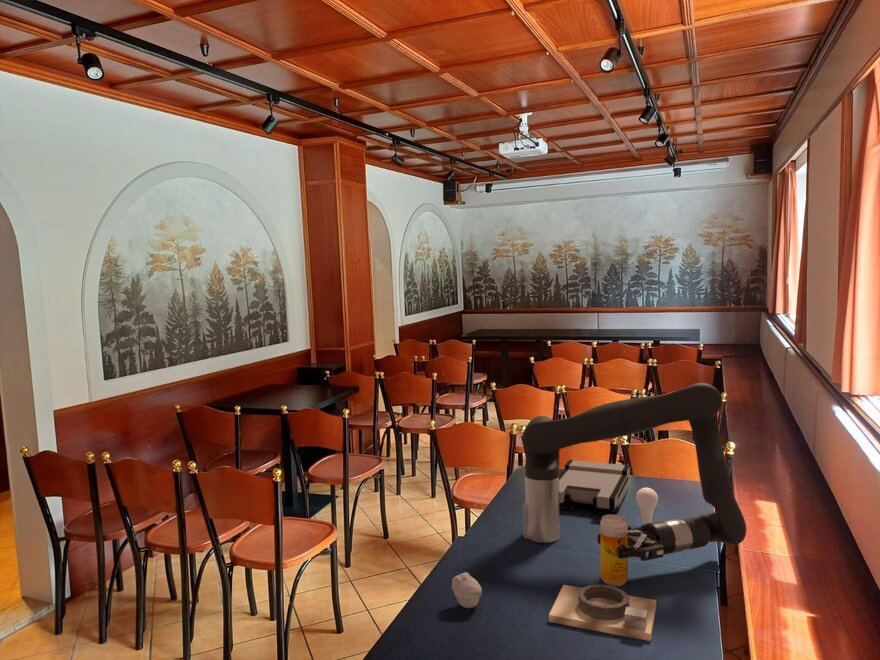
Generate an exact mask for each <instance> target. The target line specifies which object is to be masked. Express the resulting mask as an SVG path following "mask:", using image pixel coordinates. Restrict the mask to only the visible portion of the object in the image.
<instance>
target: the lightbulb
mask: <svg viewBox="0 0 880 660" xmlns="http://www.w3.org/2000/svg"><path fill="white" fill-rule="evenodd" d="M635 502H636V504H637V505H638V507H639V510H640V513H641V514H640V515H641V519H642V520H641V522H642V524H643V525H646V524H647V523H653V522H652V521H653V520H652V519H653V516H654V515H653V514H654V510H655V509H656V507H657V505H658V502H659V496H658V494H657V492H656V491H655V490H654V489H653V488H650V487H642V488H640V489H639V490H638V491H637V492H636V494H635Z"/></svg>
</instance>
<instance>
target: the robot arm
mask: <svg viewBox="0 0 880 660" xmlns="http://www.w3.org/2000/svg"><path fill="white" fill-rule="evenodd" d="M722 405H723V397H722V394H721V393H720V390H719V389H717V388H716V387H715V386H713V385H711V384H709V383H706V382H705V383H704V382H696V383H692V384H690V385H688V386H686V387H683V388H681V389H678V390H674V391H670V392H668V393H663V394H659V395H653V396H643V397H642V396H641V397H633V398H627V399H621V400H617V401H611V402H608V403H604V404H601V405H597V406H595V407H592V408H589V409H588V410H586V411H584V412H581V413H579V414H576V415H574V416H570V417H565V418H562V419H552V418H551V417H548V416H544V415H539V416H536V417H533V418H532V419H530V420H529V422H528V423H527V425H526V426H525V428H524V430H523V433H522V444H523V445H524V447H525V449H526V450H525V451H526V453H525V454H526V455H525V465H524V485H525V490H524V492H525V502H524V503H523V505H522V506H523V510H522V511H523V538H524V539H527V540H529V541H532V542H535V543H545V544H547V543H553V542H556V541H559V539H560V537H561V536H560V535H561V534H560V532H561V530H560V529H561V528H560V525H561V523H560V508H559V475H560V473H559V471H560V450H562V449H565V448H568V447H572V446H575V445H580V444H584V443H585V444H587V443H594V442H599V441H605V440H611V439H616V438H622V437H626V436H631V435H635V434H638V433H642V432H646V431H649V430H651V429H654V428H657V427H659V426H663V425H667V424H672V423H677V422H678V423H679V422H687V421H688V423H689V425H690V429H691V432H692V435H693V436H692V437H693V441H694V444H695V445H694V446H695V452H696V460H697V467H698V469H697V470H698V476H699V480H700V486H701V490H702V491H701V492H702V497H703V500H704V502H706V503H707V504H710V505H711V506H712V507H713V508H714V510H715V512H705V513H702V514H700V515H697V516H695V517H689V518H681V519H668V520H660V521H654V522H652V523H647V524H646V525H645V524H643V527H642V529H641V530H638V529H632V527H633V526H632V525H627V537H628V547H623V548H618V549H617V557H618V558H620V559H623V558H628V559H629V558H634V559H639V558H640V561H642V562H645V561H650V560H656V559H660V558H664V556H665V555H670V554H677V553H682V552H684V551H687V550H692V549H693V550H694V549H699V548H703V547H705V546H707V545H708V544H709V543H712V542H713V543H715V542H718V543H722V544H728V545H739V544H741V543H743V542H744V540H745V538H746V535H747V525H746V520H745V517H744V514H743V512H742V511H741V508H740V506H739V503H738V501H737V499H736V497H735V495H734V491H733V486H732V481H731V475H730V472H729V470H730V469H729V467H728V463H727V459H726V456H725V452H724V448H723V445H722V442H721V436H720V431H719V412H720V411H721V408H722ZM596 541H597V542H596V543H598V544H599V545H601V543H600V533H599V534H597V539H596ZM647 554H648V555H647Z"/></svg>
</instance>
